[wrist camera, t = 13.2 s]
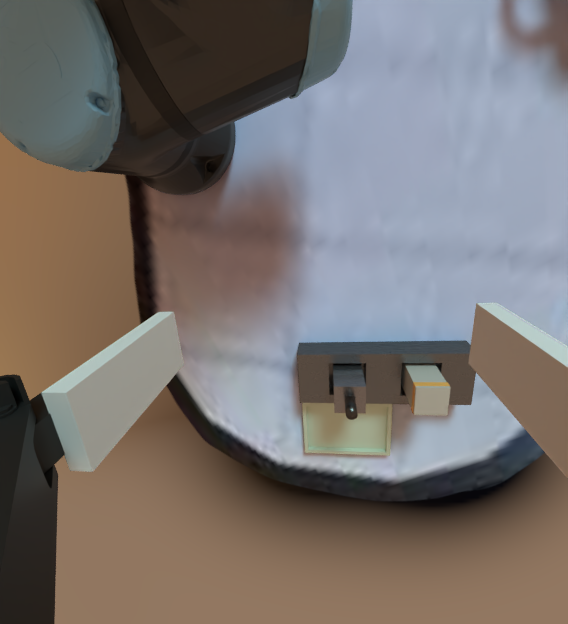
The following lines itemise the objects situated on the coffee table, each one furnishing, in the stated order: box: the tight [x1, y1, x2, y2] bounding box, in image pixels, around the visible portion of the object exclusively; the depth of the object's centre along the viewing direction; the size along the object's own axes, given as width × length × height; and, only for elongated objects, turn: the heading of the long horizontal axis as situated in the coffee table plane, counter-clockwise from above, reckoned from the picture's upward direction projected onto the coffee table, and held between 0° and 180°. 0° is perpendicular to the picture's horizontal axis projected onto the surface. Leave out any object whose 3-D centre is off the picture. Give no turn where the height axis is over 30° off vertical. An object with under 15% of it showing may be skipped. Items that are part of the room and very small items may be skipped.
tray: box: [302, 403, 393, 456], centre depth 53 cm, size 14×10×1 cm
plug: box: [401, 363, 451, 416], centre depth 44 cm, size 4×4×8 cm
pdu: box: [297, 341, 476, 420], centre depth 43 cm, size 24×8×12 cm, turn 94°
